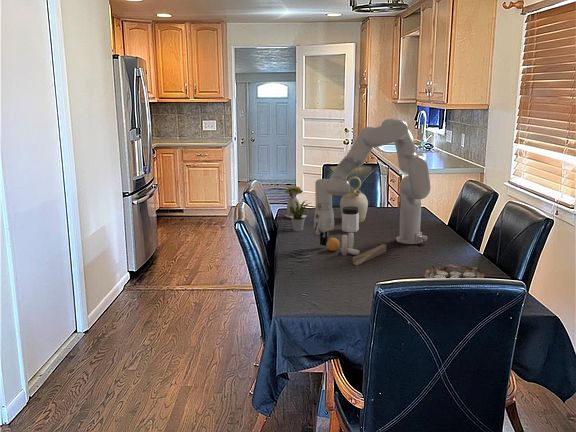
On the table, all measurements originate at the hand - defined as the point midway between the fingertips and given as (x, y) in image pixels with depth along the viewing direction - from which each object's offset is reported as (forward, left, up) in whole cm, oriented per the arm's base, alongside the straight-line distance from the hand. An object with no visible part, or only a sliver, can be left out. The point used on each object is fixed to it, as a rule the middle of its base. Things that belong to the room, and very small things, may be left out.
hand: (323, 244), depth 245 cm
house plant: (+30, -20, -2) cm, 36 cm away
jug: (+19, -54, -2) cm, 57 cm away
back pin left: (-13, +3, -2) cm, 14 cm away
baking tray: (-66, +8, -2) cm, 67 cm away
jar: (+8, -34, -2) cm, 35 cm away
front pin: (-10, 0, 0) cm, 10 cm away
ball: (-6, +1, +2) cm, 6 cm away
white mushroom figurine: (+50, -40, -2) cm, 64 cm away
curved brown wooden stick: (-25, 0, -2) cm, 25 cm away
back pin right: (-13, -2, -2) cm, 14 cm away
